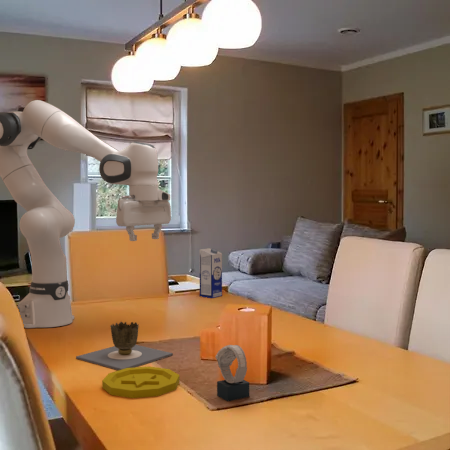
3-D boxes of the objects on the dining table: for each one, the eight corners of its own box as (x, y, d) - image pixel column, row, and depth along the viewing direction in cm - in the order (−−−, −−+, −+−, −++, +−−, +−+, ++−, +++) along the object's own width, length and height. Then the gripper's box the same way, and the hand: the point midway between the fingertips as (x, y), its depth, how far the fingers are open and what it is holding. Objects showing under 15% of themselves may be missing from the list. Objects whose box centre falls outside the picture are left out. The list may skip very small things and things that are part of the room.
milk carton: (209, 294, 254) (209, 247, 253) (222, 295, 250) (222, 248, 249) (199, 296, 248) (199, 249, 247) (212, 298, 244) (212, 249, 243)
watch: (233, 388, 134) (233, 340, 133) (253, 399, 127) (254, 348, 126) (212, 393, 131) (212, 343, 130) (231, 404, 124) (231, 352, 123)
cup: (143, 350, 162) (142, 321, 161) (133, 358, 155) (132, 328, 154) (117, 349, 164) (117, 320, 163) (106, 357, 156) (105, 327, 156)
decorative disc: (87, 388, 135) (87, 379, 135) (145, 370, 148) (145, 362, 148) (136, 405, 124) (136, 396, 124) (194, 384, 138) (194, 376, 137)
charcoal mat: (76, 358, 157) (76, 356, 157) (127, 344, 171) (127, 342, 171) (122, 371, 146) (122, 368, 146) (172, 355, 160) (172, 352, 160)
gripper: (125, 195, 173) (126, 242, 173) (174, 194, 189) (174, 238, 189) (111, 195, 177) (111, 241, 177) (159, 194, 193) (160, 237, 193)
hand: (144, 239), depth 184 cm, fingers open, 8 cm apart
